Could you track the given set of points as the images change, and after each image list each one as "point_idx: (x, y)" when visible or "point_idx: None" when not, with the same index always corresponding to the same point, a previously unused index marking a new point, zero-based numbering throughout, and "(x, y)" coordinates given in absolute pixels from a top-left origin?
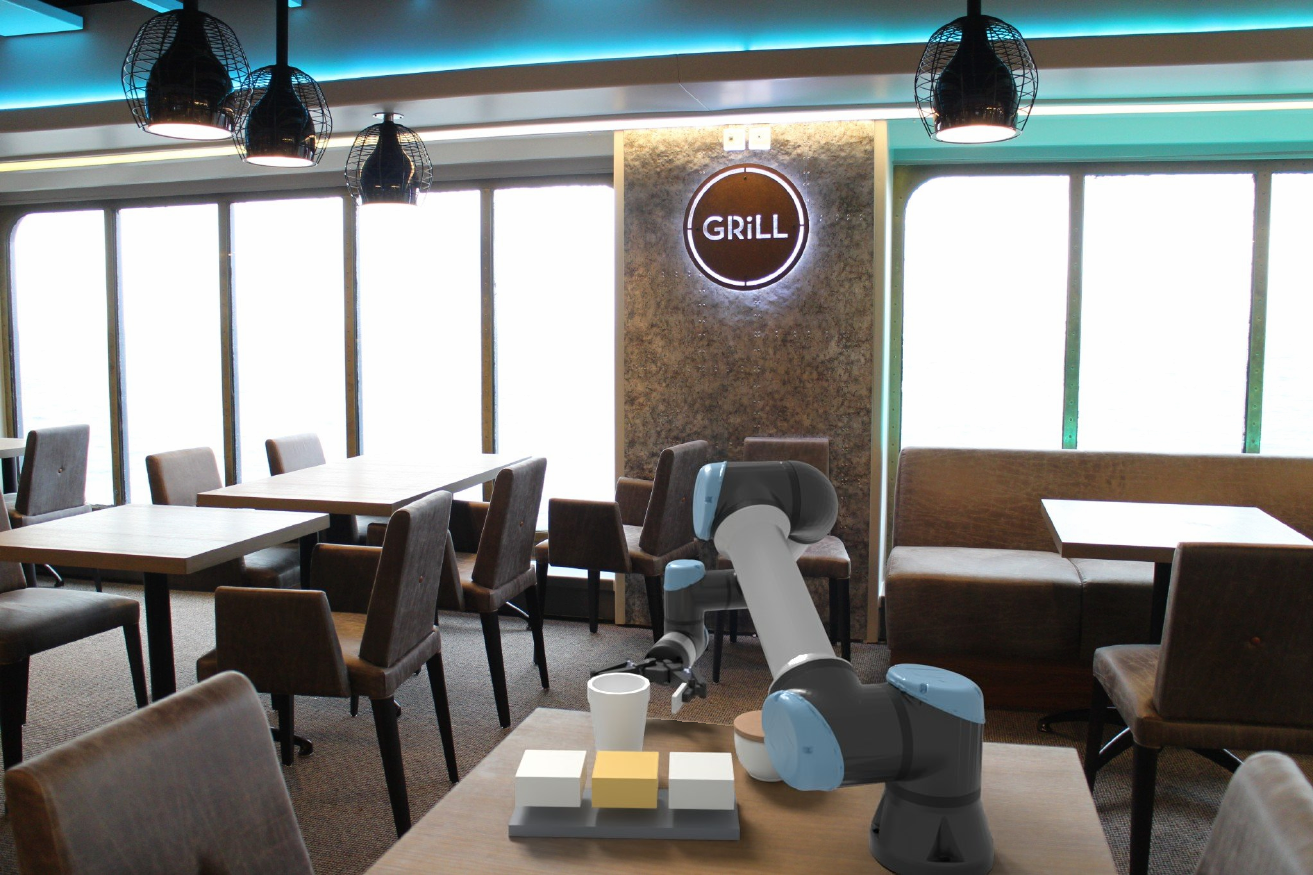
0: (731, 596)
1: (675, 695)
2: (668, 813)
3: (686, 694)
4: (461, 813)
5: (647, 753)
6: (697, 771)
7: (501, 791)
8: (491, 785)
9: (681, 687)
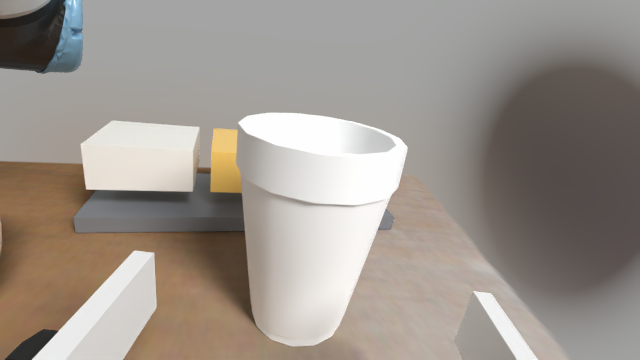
0: None
1: (134, 260)
2: (197, 186)
3: (51, 330)
4: (425, 209)
5: (228, 150)
6: (158, 129)
7: (425, 237)
8: (449, 246)
9: (61, 344)
